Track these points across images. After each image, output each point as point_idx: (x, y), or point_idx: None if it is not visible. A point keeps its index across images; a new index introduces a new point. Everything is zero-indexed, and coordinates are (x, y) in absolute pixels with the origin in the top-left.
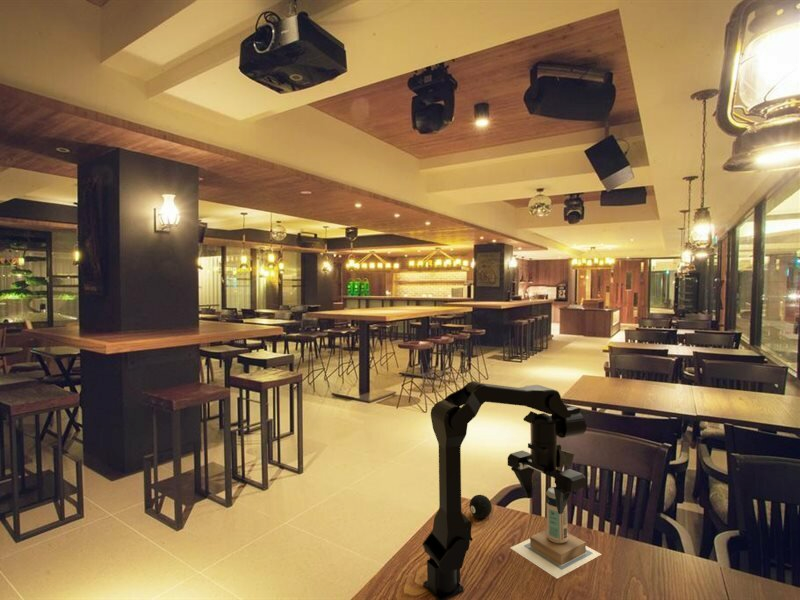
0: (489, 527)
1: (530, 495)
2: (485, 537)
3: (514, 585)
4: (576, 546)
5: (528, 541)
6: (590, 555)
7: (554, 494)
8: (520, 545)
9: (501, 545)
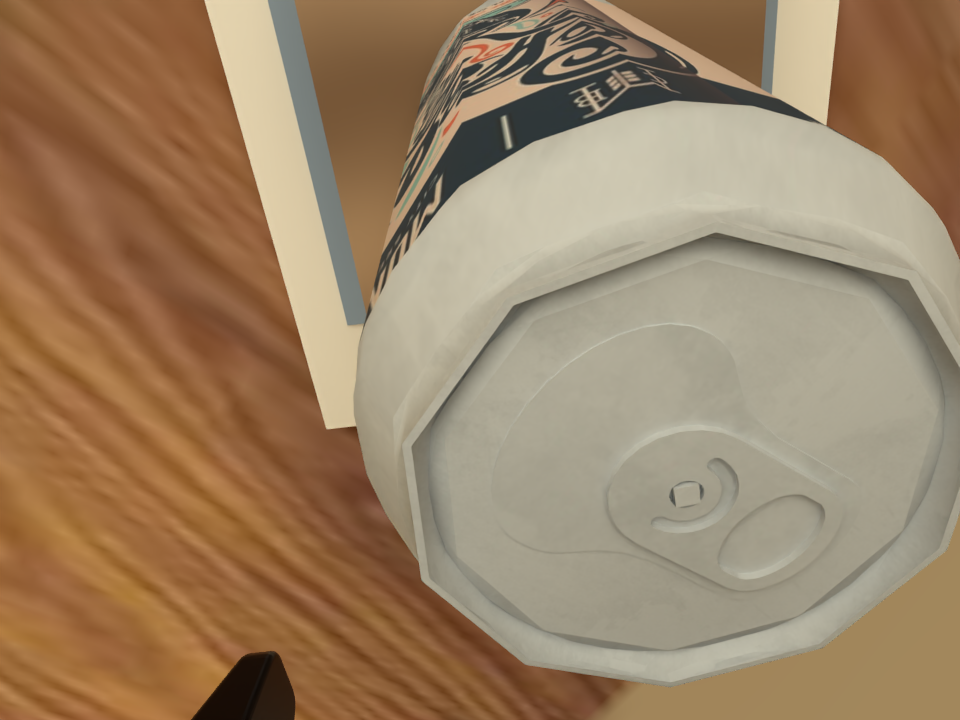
0: None
1: (269, 700)
2: (104, 469)
3: None
4: (761, 14)
5: (299, 243)
6: None
7: (783, 641)
8: (330, 343)
9: (247, 431)
